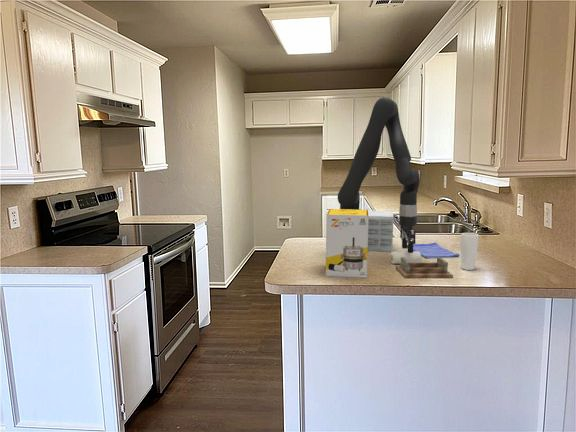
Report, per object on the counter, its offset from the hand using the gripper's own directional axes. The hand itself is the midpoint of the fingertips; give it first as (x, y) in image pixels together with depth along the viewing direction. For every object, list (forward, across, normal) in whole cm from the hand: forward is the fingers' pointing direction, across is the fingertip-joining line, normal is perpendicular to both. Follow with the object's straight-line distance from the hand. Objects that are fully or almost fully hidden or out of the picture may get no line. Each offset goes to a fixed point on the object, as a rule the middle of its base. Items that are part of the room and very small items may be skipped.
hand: (407, 250), depth 186 cm
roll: (+6, 0, -1) cm, 6 cm away
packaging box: (+6, +12, -29) cm, 32 cm away
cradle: (+6, +15, +2) cm, 16 cm away
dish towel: (+7, -21, +18) cm, 29 cm away
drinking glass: (+7, +10, +23) cm, 26 cm away
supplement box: (+6, -31, -5) cm, 32 cm away
